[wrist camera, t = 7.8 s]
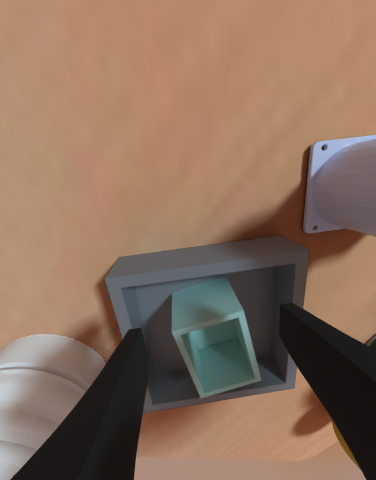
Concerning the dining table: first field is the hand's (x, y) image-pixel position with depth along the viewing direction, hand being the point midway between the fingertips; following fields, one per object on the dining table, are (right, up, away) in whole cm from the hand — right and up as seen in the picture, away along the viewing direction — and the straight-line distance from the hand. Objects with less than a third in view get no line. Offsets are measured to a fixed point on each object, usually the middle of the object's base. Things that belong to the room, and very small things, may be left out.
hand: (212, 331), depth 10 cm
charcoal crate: (+1, -3, +11) cm, 12 cm away
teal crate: (+1, -3, +10) cm, 11 cm away
